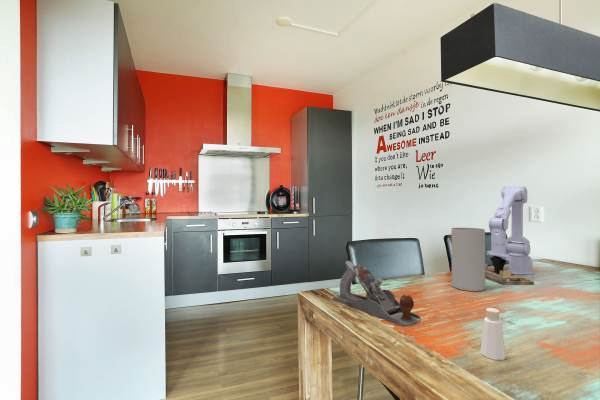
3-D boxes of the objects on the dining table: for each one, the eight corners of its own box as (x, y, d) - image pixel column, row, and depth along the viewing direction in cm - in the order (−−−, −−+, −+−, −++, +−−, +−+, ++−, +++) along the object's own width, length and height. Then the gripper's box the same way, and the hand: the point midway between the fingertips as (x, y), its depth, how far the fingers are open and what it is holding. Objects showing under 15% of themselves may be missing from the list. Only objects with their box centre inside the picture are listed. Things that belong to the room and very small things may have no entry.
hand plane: (406, 329, 93) (405, 278, 93) (331, 300, 120) (331, 260, 120) (424, 322, 98) (423, 273, 98) (348, 295, 125) (348, 257, 125)
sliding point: (520, 279, 142) (520, 270, 142) (524, 280, 140) (524, 271, 140) (499, 279, 142) (499, 270, 142) (503, 280, 140) (503, 271, 140)
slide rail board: (501, 273, 161) (501, 270, 161) (533, 284, 139) (533, 281, 139) (474, 273, 161) (474, 270, 161) (502, 284, 139) (501, 282, 139)
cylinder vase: (482, 293, 126) (482, 230, 126) (448, 288, 133) (448, 229, 133) (487, 286, 136) (486, 228, 136) (455, 282, 143) (454, 227, 143)
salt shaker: (488, 347, 80) (488, 304, 80) (511, 357, 75) (510, 310, 75) (475, 352, 78) (474, 307, 78) (497, 362, 73) (497, 314, 73)
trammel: (495, 271, 160) (495, 263, 160) (525, 281, 139) (525, 272, 139) (477, 271, 160) (477, 263, 160) (504, 281, 139) (504, 272, 139)
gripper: (480, 241, 152) (480, 269, 152) (499, 246, 138) (500, 277, 138) (495, 241, 152) (495, 269, 152) (516, 246, 138) (516, 277, 138)
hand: (498, 273), depth 145 cm, fingers closed
